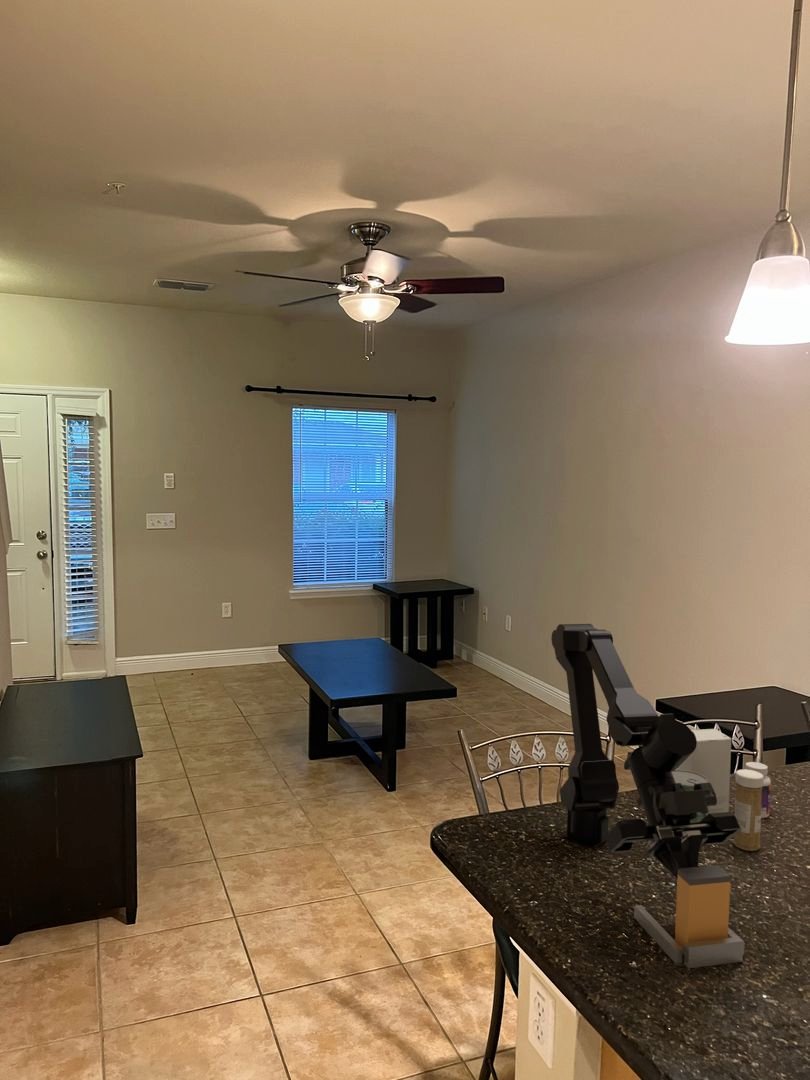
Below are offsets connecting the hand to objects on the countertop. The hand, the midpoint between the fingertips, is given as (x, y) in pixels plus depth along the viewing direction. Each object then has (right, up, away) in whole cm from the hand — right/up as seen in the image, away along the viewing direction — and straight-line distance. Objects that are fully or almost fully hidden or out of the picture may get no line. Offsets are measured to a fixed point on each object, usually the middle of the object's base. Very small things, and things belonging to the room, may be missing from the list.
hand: (694, 894), depth 105 cm
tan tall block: (0, -7, -1) cm, 7 cm away
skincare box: (+19, -5, +47) cm, 51 cm away
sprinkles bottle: (+21, -6, +32) cm, 39 cm away
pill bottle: (+29, -5, +46) cm, 55 cm away
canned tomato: (+11, -6, +36) cm, 38 cm away
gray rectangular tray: (-1, -8, +3) cm, 8 cm away
